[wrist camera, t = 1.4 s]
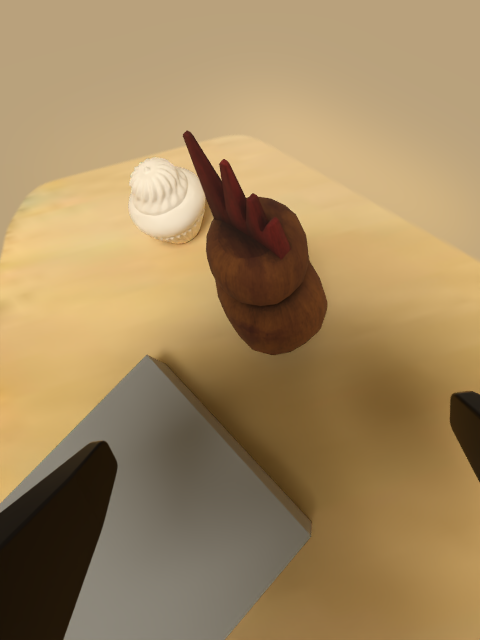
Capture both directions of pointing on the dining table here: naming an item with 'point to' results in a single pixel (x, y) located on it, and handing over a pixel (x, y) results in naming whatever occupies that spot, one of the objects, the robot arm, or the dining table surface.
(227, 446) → the plinth
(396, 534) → the dining table surface
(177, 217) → the muffin
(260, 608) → the dining table surface
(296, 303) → the wooden figurine
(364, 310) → the dining table surface
